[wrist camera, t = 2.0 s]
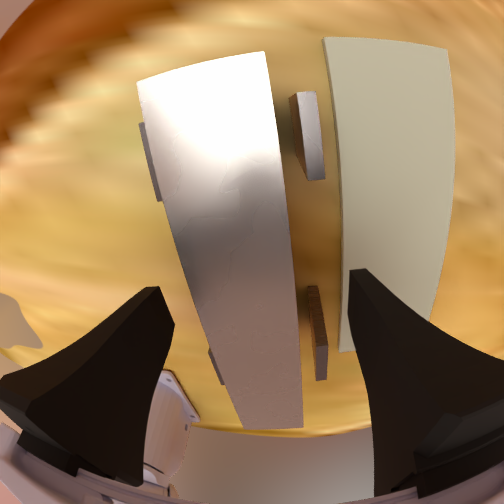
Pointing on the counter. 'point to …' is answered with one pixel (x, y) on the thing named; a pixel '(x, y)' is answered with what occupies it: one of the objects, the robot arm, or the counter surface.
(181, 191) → the rail
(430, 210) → the mat
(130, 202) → the counter surface
